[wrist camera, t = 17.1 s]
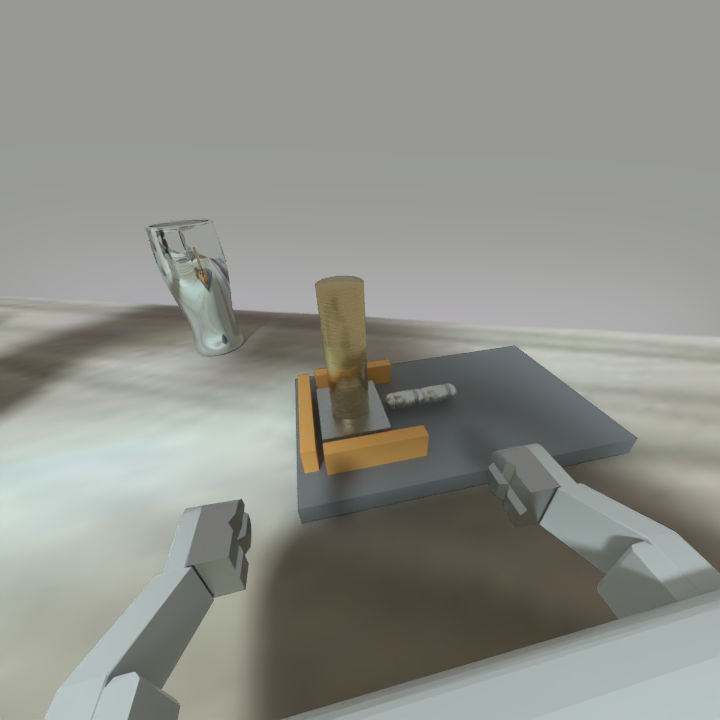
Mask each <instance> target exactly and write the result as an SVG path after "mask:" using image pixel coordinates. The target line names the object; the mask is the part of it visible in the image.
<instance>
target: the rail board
mask: <svg viewBox="0 0 720 720" xmlns="http://www.w3.org/2000/svg"><path fill="white" fill-rule="evenodd" d="M367 369H368V381H370V380H373V383H374V385H375V388H376V390H377V393H378V395H379V398H380V400H381V403H382V406H383V408H384V411H385V413H386V416H387V418H388V421H389V423H390V426H391V431H387V432H382V433H376V434H371V435H365V436H360V437H354V438H349V439H343V440H338V441H332V442H327V443H323V441H322V433H321V424H320V416H319V407H318V399H317V390H316V389H320V388H326V387H329V386H328V378H327V371H326V368H323V369H317V370H314V373H315V376H310V377H309V374H304V375H298V378H297V379H295V387H296V439H297V490H298V512H299V515H300V519H301V523H306V522H310V521H315V520H320V519H324V518H329V517H333V516H338V515H343V514H347V513H352V512H357V511H361V510H366V509H370V508H375V507H380V506H384V505H389V504H393V503H398V502H403V501H407V500H412V499H416V498H421V497H426V496H430V495H435V494H440V493H444V492H449V491H453V490H458V489H463V488H467V487H472V486H476V485H481V484H486V483H488V480H487V470H488V467H489V466H490V465H491V464H492V463H493V461H492V460H491V456H492V453H493V452H495V451H498V450H502V449H507V448H512V447H517V446H524V445H529V444H535V443H537V444H539V445H541V446H542V447H543V448H544V449H545V450H546V451H547V452H548V453H549V454H550V455H551V456H552V458H553V459H554V460H555V461H556V462H557V463H558V464H559V465H560V466H561V467H564V466H569V465H573V464H578V463H583V462H587V461H592V460H596V459H601V458H606V457H610V456H615V455H619V454H624V453H629V451H630V449H631V448H632V446H633V445H634V443H635V441H636V440H637V437H635V436H634V435H633V434H631V433H630V432H629V431H627V430H626V429H625V428H623V427H622V426H621V425H619V424H618V423H617V422H615V421H614V420H613V419H612V418H610V417H609V416H608V415H606V414H605V413H604V412H602V411H601V410H600V409H598V408H597V407H596V406H594V405H593V404H592V403H590V402H589V401H588V400H586V399H585V398H584V397H582V396H581V395H580V394H578V393H577V392H576V391H574V390H573V389H572V388H570V387H569V386H568V385H566V384H565V383H564V382H562V381H561V380H560V379H558V378H557V377H556V376H555V375H553V374H552V373H551V372H549V371H548V370H547V369H545V368H544V367H543V366H541V365H540V364H539V363H537V362H536V361H535V360H533V359H532V358H531V357H529V356H528V355H527V354H525V353H524V352H523V351H521V350H520V349H519V348H517V347H516V346H509V347H502V348H495V349H489V350H482V351H476V352H469V353H462V354H456V355H449V356H442V357H436V358H429V359H423V360H416V361H409V362H403V363H396V364H391V363H390V361H389V359H384V360H377V361H371V362H367ZM441 384H452V385H454V386H455V388H456V390H457V394H456V396H455V398H454V399H452V400H448V401H442V402H436V403H431V404H421V405H419V406H413V407H407V408H402V409H396V410H390V409H388V408H387V407H386V406H385V404H384V399H385V396H386V395H387V394H389V393H392V392H398V391H404V390H411V389H421V388H423V387H429V386H435V385H441Z"/></svg>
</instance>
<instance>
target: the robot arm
mask: <svg viewBox="0 0 720 720" xmlns="http://www.w3.org/2000/svg"><path fill="white" fill-rule="evenodd" d="M491 460H492V461H493V463H492V464H491V465H490V466H489V467H488V470H487V480H488V484H489V486H490V488H491V490H492V492H493V493H494V495H495V496H496V497H498V498H499V499H501V500H503V509H504V511H505V512H506V514H507V515H508V517H509V519H510V520H511V522H512V523H513V525H514V526H515V527H520V526H525V525H530V524H535V523H540V525H541V526H543V527H544V528H545V529H546V530H548V531H549V532H550V533H552V534H553V535H554V536H556V537H557V538H558V539H560V540H561V541H562V542H564V543H565V544H566V545H567V546H569V547H570V548H571V549H573V550H574V551H575V552H577V553H578V554H579V555H581V556H582V557H583V558H585V559H586V560H587V561H589V562H590V563H591V564H592V565H594V566H595V567H596V568H598V569H599V570H600V571H602V572H603V573H604V574H606V575H605V576H604V577H603V579H602V580H601V581H600V582H599V583H598V584H597V591H598V593H599V594H600V595H601V597H602V598H603V600H604V601H605V602H606V604H607V605H608V606H609V608H610V609H611V611H612V612H613V613H614V615H615V616H616V618H617V619H618V620H614V621H611V622H608V623H604V624H601V625H597V626H594V627H591V628H587V629H584V630H581V631H577V632H574V633H570V634H567V635H564V636H560V637H557V638H554V639H550V640H547V641H543V642H540V643H537V644H533V645H530V646H527V647H523V648H520V649H516V650H513V651H510V652H506V653H503V654H499V655H496V656H493V657H489V658H486V659H483V660H479V661H476V662H472V663H469V664H466V665H462V666H459V667H456V668H452V669H449V670H445V671H442V672H439V673H435V674H432V675H429V676H425V677H422V678H418V679H415V680H412V681H408V682H405V683H402V684H398V685H395V686H391V687H388V688H385V689H381V690H378V691H375V692H371V693H368V694H364V695H361V696H358V697H354V698H351V699H348V700H344V701H341V702H337V703H334V704H331V705H327V706H324V707H321V708H317V709H314V710H310V711H307V712H304V713H300V714H297V715H294V716H290V717H287V718H283V719H280V720H720V573H719V572H718V571H717V570H716V569H715V568H714V567H713V566H712V565H711V564H710V563H709V562H707V561H706V560H705V559H704V558H703V557H702V556H701V555H700V554H699V553H698V552H697V551H696V550H695V549H693V548H692V547H691V546H690V545H689V544H688V543H687V542H686V541H685V540H684V539H683V538H682V537H681V536H680V535H678V534H677V533H676V532H675V531H673V530H671V529H669V528H667V527H665V526H663V525H661V524H659V523H657V522H655V521H653V520H651V519H650V518H648V517H646V516H644V515H642V514H640V513H638V512H636V511H634V510H632V509H630V508H628V507H626V506H624V505H623V504H621V503H619V502H617V501H615V500H613V499H611V498H609V497H607V496H605V495H603V494H601V493H599V492H597V491H596V490H594V489H592V488H590V487H588V486H586V485H584V484H582V483H578V484H577V483H576V482H575V481H574V480H573V479H572V478H571V477H570V476H569V475H568V474H567V473H566V471H565V470H564V469H563V468H562V467H561V466H560V465H559V464H558V463H557V462H556V461H555V460H554V459H553V458H552V456H551V455H550V454H549V453H548V452H547V451H546V450H545V449H544V448H543V447H542V446H541V445H539V444H537V443H535V444H529V445H524V446H517V447H512V448H507V449H502V450H498V451H495V452H493V453H492V456H491ZM244 506H245V505H244V503H243V501H242V499H239V500H233V501H227V502H221V503H215V504H210V505H203V506H198V507H192V508H187V509H185V511H184V512H183V514H182V515H181V518H180V521H179V524H178V527H177V530H176V533H175V536H174V540H173V543H172V546H171V549H170V552H169V555H168V558H167V561H166V564H165V567H164V570H163V572H162V573H158V574H156V575H155V576H154V578H153V579H152V580H151V581H150V582H149V583H148V585H147V586H146V587H145V588H144V589H143V590H142V592H141V593H140V594H139V595H138V596H137V597H136V599H135V600H134V601H133V602H132V603H131V604H130V606H129V607H128V608H127V609H126V610H125V611H124V613H123V614H122V615H121V616H120V617H119V618H118V620H117V621H116V622H115V623H114V624H113V625H112V627H111V628H110V629H109V630H108V631H107V632H106V634H105V635H104V636H103V637H102V638H101V639H100V641H99V642H98V643H97V644H96V645H95V646H94V648H93V649H92V650H91V651H90V652H89V653H88V655H87V656H86V657H85V658H84V659H83V660H82V662H81V663H80V664H79V665H78V666H77V667H76V669H75V670H74V671H73V672H72V673H71V674H70V676H69V677H68V678H67V679H66V680H65V681H64V683H63V684H62V685H61V686H60V687H59V688H58V690H57V692H56V695H55V697H54V699H53V701H52V703H51V706H50V708H49V710H48V712H47V714H46V717H45V719H44V720H178V715H179V710H180V705H179V703H178V701H177V700H176V699H175V698H173V697H172V696H170V695H169V694H167V693H166V692H164V691H163V690H162V688H163V686H164V684H165V683H166V681H167V679H168V677H169V676H170V674H171V672H172V671H173V669H174V667H175V666H176V664H177V662H178V660H179V659H180V657H181V655H182V654H183V652H184V650H185V649H186V647H187V645H188V643H189V642H190V640H191V638H192V637H193V635H194V633H195V632H196V630H197V628H198V626H199V625H200V623H201V621H202V620H203V618H204V616H205V615H206V613H207V611H208V609H209V608H210V606H211V604H212V603H213V601H214V599H213V598H215V597H219V596H223V595H227V594H231V593H234V592H238V591H242V590H246V582H247V573H248V565H249V563H248V561H247V559H246V556H245V554H246V553H247V551H248V550H249V548H250V546H251V522H250V518H249V515H248V514H247V513H245V512H244Z"/></svg>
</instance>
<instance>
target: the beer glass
mask: <svg viewBox="0 0 720 720" xmlns="http://www.w3.org/2000/svg"><path fill="white" fill-rule="evenodd" d="M145 229H146V232H147V235H148V238H149V241H150V244H151V248H152V251H153V254H154V257H155V260H156V263H157V265H158V268H159V270H160V272H161V275H162V277H163V279H164V281H165V283H166V285H167V286H168V288H169V290H170V292H171V294H172V295H173V297H174V298H175V300H176V302H177V303H178V305H179V307H180V308H181V310H182V311H183V313H184V315H185V317H186V318H187V320H188V322H189V324H190V327H191V330H192V334H193V339H194V345H195V349H196V352H197V353H198V354H201V355H204V356H216V355H221V354H225V353H228V352H231V351H233V350H235V349H237V348H238V347H240V346H241V345H242V344H243V342H244V337H243V334H242V332H241V331H240V329H239V327H238V325H237V323H236V320H235V317H234V314H233V309H232V301H231V292H230V282H229V275H228V268H227V264H226V260H225V257H224V253H223V250H222V247H221V244H220V241H219V239H218V236H217V233H216V231H215V228H214V225H213V222H212V220H211V219H205V218H204V219H203V218H202V219H184V220H175V221H166V222H160V223H154V224H150V225H146V226H145Z"/></svg>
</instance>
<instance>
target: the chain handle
mask: <svg viewBox="0 0 720 720" xmlns="http://www.w3.org/2000/svg"><path fill="white" fill-rule="evenodd" d="M315 288H316V295H317V303H318V310H319V318H320V326H321V333H322V341H323V348H324V356H325V363H326V371H327V378H328V386H329V387H326V388H320V389H316V390H317V399H318V407H319V416H320V424H321V433H322V441H323V443H327V442H332V441H338V440H343V439H349V438H354V437H360V436H365V435H371V434H376V433H382V432H387V431H391V426H390V423H389V421H388V418H387V416H386V413H385V411H384V408H383V406H382V403H381V400H380V398H379V395H378V393H377V390H376V388H375V385H374V383H373V380H370V381H368V369H367V347H366V325H365V303H364V282H363V280H362V279H361V278H358V277H354V276H334V277H329V278H325V279H322V280H320V281H318V282H317V283H316V284H315ZM456 394H457V390H456V388H455V386H454V385H452V384H441V385H435V386H429V387H423V388H421V389H411V390H404V391H398V392H392V393H389V394H387V395H386V396H385V399H384V404H385V406H386V407H387V408H388V409H390V410H396V409H402V408H407V407H413V406H419V405H421V404H431V403H436V402H442V401H448V400H452V399H454V398H455V396H456Z"/></svg>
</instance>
